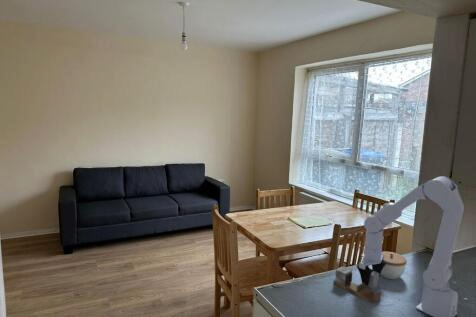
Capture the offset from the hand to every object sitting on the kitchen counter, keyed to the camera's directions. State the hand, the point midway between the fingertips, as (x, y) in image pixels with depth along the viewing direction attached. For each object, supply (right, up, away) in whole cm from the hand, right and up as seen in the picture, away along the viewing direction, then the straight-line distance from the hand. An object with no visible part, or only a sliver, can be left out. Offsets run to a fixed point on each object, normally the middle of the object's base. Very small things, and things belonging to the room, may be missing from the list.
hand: (370, 281), depth 120 cm
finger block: (0, -2, 0) cm, 2 cm away
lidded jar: (+11, -1, +7) cm, 13 cm away
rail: (-7, -2, -4) cm, 8 cm away
